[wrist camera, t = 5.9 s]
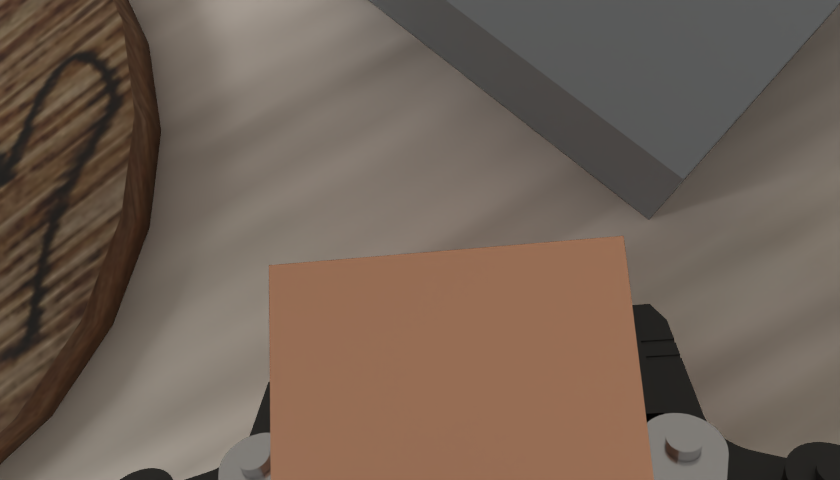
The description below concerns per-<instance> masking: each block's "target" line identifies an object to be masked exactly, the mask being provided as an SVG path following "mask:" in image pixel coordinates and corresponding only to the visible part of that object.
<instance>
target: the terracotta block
mask: <svg viewBox="0 0 840 480" xmlns="http://www.w3.org/2000/svg"><path fill="white" fill-rule="evenodd" d="M269 325H270V458H271V480H654V476H653V468H652V460H651V452H650V444H649V436H648V428H647V420H646V412H645V404H644V396H643V388H642V380H641V372H640V364H639V356H638V348H637V340H636V332H635V323H634V315H633V307H632V299H631V291H630V283H629V275H628V267H627V259H626V251H625V243H624V236H616V237H604V238H592V239H580V240H568V241H556V242H544V243H532V244H520V245H508V246H496V247H484V248H472V249H459V250H447V251H435V252H423V253H411V254H399V255H387V256H375V257H363V258H351V259H339V260H327V261H315V262H303V263H291V264H279V265H269Z"/></svg>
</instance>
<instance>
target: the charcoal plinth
mask: <svg viewBox="0 0 840 480" xmlns="http://www.w3.org/2000/svg"><path fill="white" fill-rule="evenodd" d="M369 1H370V2H372V3H373V4H374V5H375V6H377V7H378V8H379V9H381V10H382V11H383V12H384V13H386V14H387V15H388V16H389V17H391V18H392V19H393V20H395V21H396V22H397V23H398V24H400V25H401V26H402V27H403V28H405V29H406V30H407V31H409V32H410V33H411V34H412V35H414V36H415V37H416V38H418V39H419V40H420V41H421V42H423V43H424V44H425V45H426V46H428V47H429V48H430V49H432V50H433V51H434V52H435V53H437V54H438V55H439V56H441V57H442V58H443V59H444V60H446V61H447V62H448V63H449V64H451V65H452V66H453V67H455V68H456V69H457V70H458V71H460V72H461V73H462V74H464V75H465V76H466V77H467V78H469V79H470V80H471V81H472V82H474V83H475V84H476V85H478V86H479V87H480V88H481V89H483V90H484V91H485V92H486V93H488V94H489V95H490V96H492V97H493V98H494V99H495V100H497V101H498V102H499V103H501V104H502V105H503V106H504V107H506V108H507V109H508V110H509V111H511V112H512V113H513V114H515V115H516V116H517V117H518V118H520V119H521V120H522V121H524V122H525V123H526V124H527V125H529V126H530V127H531V128H532V129H534V130H535V131H536V132H538V133H539V134H540V135H541V136H543V137H544V138H545V139H547V140H548V141H549V142H550V143H552V144H553V145H554V146H555V147H557V148H558V149H559V150H561V151H562V152H563V153H564V154H566V155H567V156H568V157H569V158H571V159H572V160H573V161H575V162H576V163H577V164H578V165H580V166H581V167H582V168H584V169H585V170H586V171H587V172H589V173H590V174H591V175H592V176H594V177H595V178H596V179H598V180H599V181H600V182H601V183H603V184H604V185H605V186H607V187H608V188H609V189H610V190H612V191H613V192H614V193H615V194H617V195H618V196H619V197H621V198H622V199H623V200H624V201H626V202H627V203H628V204H630V205H631V206H632V207H633V208H635V209H636V210H637V211H638V212H640V213H641V214H642V215H644V216H645V217H646V218H647V219H650V218H651V217H652V215H653V214H654V213H655V212H656V211H657V210H658V209H659V208H660V206H661V205H662V204H663V203H664V202H665V201H666V200H667V199H668V197H669V196H670V195H671V194H672V193H673V192H674V191H675V189H676V188H677V187H678V186H679V185H680V184H681V183H682V182H683V180H684V179H685V178H686V177H687V176H688V175H689V174H690V173H691V171H692V170H693V169H694V168H695V167H696V166H697V165H698V164H699V162H700V161H701V160H702V159H703V158H704V157H705V156H706V154H707V153H708V152H709V151H710V150H711V149H712V148H713V147H714V145H715V144H716V143H717V142H718V141H719V140H720V139H721V138H722V136H723V135H724V134H725V133H726V132H727V131H728V130H729V129H730V127H731V126H732V125H733V124H734V123H735V122H736V121H737V119H738V118H739V117H740V116H741V115H742V114H743V113H744V112H745V110H746V109H747V108H748V107H749V106H750V105H751V104H752V103H753V101H754V100H755V99H756V98H757V97H758V96H759V95H760V93H761V92H762V91H763V90H764V89H765V88H766V87H767V86H768V84H769V83H770V82H771V81H772V80H773V79H774V78H775V77H776V75H777V74H778V73H779V72H780V71H781V70H782V69H783V68H784V66H785V65H786V64H787V63H788V62H789V61H790V60H791V58H792V57H793V56H794V55H795V54H796V53H797V52H798V51H799V49H800V48H801V47H802V46H803V45H804V44H805V43H806V42H807V40H808V39H809V38H810V37H811V36H812V35H813V34H814V32H815V31H816V30H817V29H818V28H819V27H820V26H821V25H822V23H823V22H824V21H825V20H826V19H827V18H828V17H829V16H830V14H831V13H832V12H833V11H834V10H835V9H836V8H837V7H838V5H839V4H840V0H369Z"/></svg>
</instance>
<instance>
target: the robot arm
mask: <svg viewBox="0 0 840 480" xmlns="http://www.w3.org/2000/svg"><path fill="white" fill-rule="evenodd" d="M632 307H633V315H634V323H635V332H636V340H637V348H638V356H639V364H640V372H641V380H642V388H643V396H644V404H645V412H646V420H647V428H648V436H649V444H650V452H651V460H652V468H653V476H654V480H840V445H836V444H832V443H824V442H813V443H807V444H804V445H801V446H798V447H797V448H795V449H794V450H793V451H792V452H790V454H789V455H788V457H787V458H784V457H779V456H774V455H770V454H765V453H761V452H756V451H752V450H748V449H745V448H742V447H740V446H737V445H735V444H733V443H731V442H729V441H728V440H726V439H724V437H723V436H722V435H721V433H720V432H719V431H718V430H717V429H716V428H715V427H714V426H712V425H711V424H710V423H708V422H707V421H706V419H705V417H704V415H703V413H702V410H701V408H700V405H699V402H698V400H697V397H696V395H695V392H694V389H693V387H692V384H691V382H690V379H689V377H688V374H687V371H686V369H685V366H684V364H683V361H682V358H680V353H679V351H678V348H677V346H676V343H674V338H673V335H672V333H671V330H670V327H669V325H668V322H667V320H666V319H665V318H664V317H663V316H662V315H661V314H660V313H659V312H658V311H657V310H655V309H654V308H653V307H652V306H651V305H650V304H644V305H632ZM120 480H173V479H172V477H171V476H170V475H169V474H168V473H167V472H166V471H164V470H161V469H156V468H148V469H142V470H139V471H136V472H133V473H131V474H129V475H127V476H125V477H123V478H122V479H120ZM186 480H271V458H270V382H268V385H267V388H266V391H265V394H264V397H263V400H262V402H261V405H260V408H259V411H258V414H257V417H256V420H255V422H254V425H253V428H252V431H251V434H250V436H249V437H247V438H245V439H243V440H242V441H240V442H239V443H237V444H236V445H235V446H233V447H232V448H231V449H230V450H229V451H228V452H227V454H226V455H225V457H224V458H223V460H222V462H221V464H220V467H219V468H217V469H215V470H212V471H210V472H207V473H204V474H201V475H198V476H195V477H192V478H189V479H186Z"/></svg>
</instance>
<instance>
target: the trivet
mask: <svg viewBox="0 0 840 480" xmlns="http://www.w3.org/2000/svg"><path fill="white" fill-rule="evenodd" d="M160 136H161V127H160V120H159V113H158V106H157V99H156V92H155V85H154V78H153V71H152V64H151V56H150V49H149V44H148V42H147V40H146V37H145V35H144V33H143V31H142V29H141V27H140V24H139V22H138V20H137V18H136V16H135V14H134V11H133V9H132V7H131V5H130V3H129V1H128V0H0V464H1V463H2V462H3V461H4V460H5V459H6V458H7V457H8V456H9V455H11V454H12V453H13V452H14V451H15V450H16V449H17V448H18V447H19V446H20V445H21V444H22V443H23V442H24V441H26V440H27V439H28V438H29V437H30V436H31V435H32V434H33V433H34V432H35V431H36V430H37V429H38V428H39V427H40V426H42V425H43V424H44V423H45V422H46V421H47V420H48V419H49V418H50V417H51V416H52V415H53V414H54V412H55V411H56V409H57V408H58V406H59V405H60V403H61V402H62V400H63V399H64V397H65V396H66V394H67V393H68V391H69V390H70V388H71V387H72V385H73V384H74V382H75V381H76V379H77V378H78V376H79V375H80V373H81V372H82V370H83V369H84V367H85V366H86V364H87V363H88V361H89V360H90V358H91V357H92V355H93V354H94V352H95V351H96V349H97V348H98V346H99V345H100V343H101V342H102V340H103V339H104V337H105V336H106V334H107V333H108V331H109V330H110V328H111V327H112V325H113V323H114V320H115V317H116V315H117V312H118V309H119V307H120V304H121V301H122V299H123V296H124V293H125V291H126V288H127V285H128V283H129V280H130V277H131V275H132V272H133V269H134V267H135V264H136V262H137V259H138V256H139V254H140V251H141V248H142V246H143V243H144V240H145V238H146V235H147V232H148V230H149V226H150V218H151V210H152V202H153V193H154V185H155V177H156V169H157V161H158V152H159V144H160Z"/></svg>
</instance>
